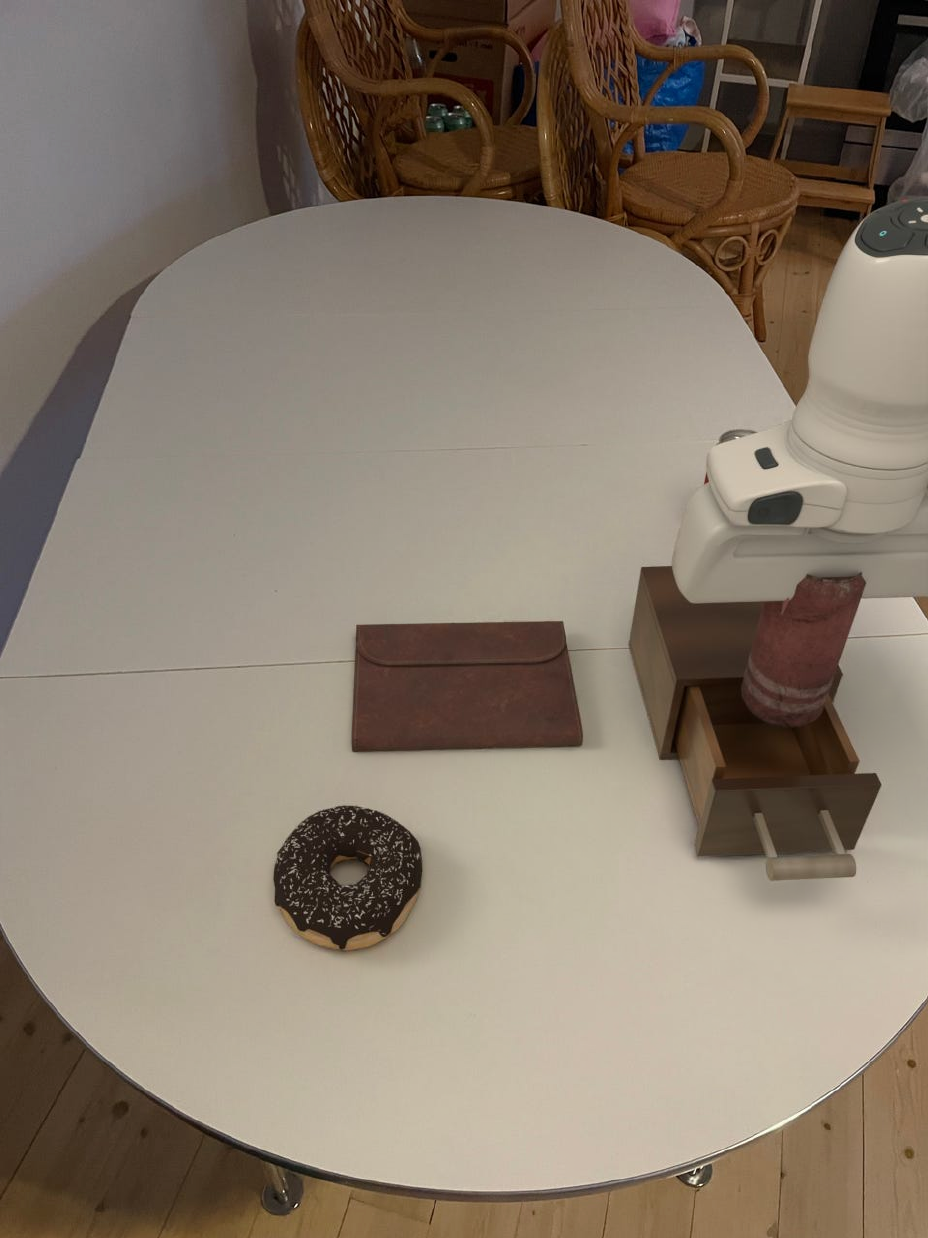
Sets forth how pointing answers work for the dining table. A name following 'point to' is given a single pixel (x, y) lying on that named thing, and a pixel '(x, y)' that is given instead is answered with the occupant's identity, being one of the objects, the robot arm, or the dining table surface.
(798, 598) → the can
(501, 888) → the dining table surface
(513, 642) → the notebook
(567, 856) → the dining table surface
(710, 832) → the drawer
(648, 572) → the cabinet
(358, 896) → the donut
